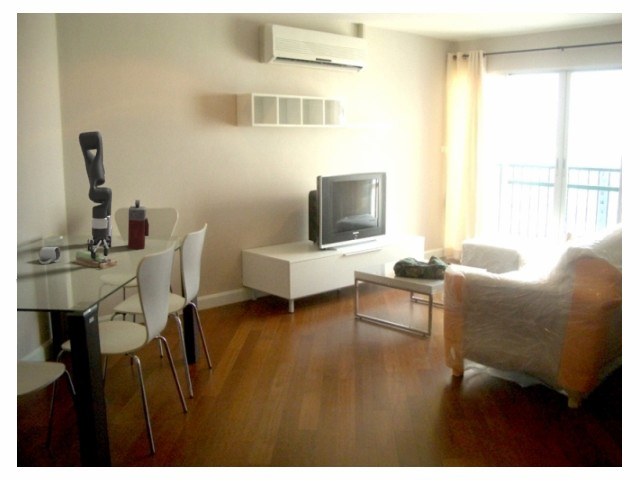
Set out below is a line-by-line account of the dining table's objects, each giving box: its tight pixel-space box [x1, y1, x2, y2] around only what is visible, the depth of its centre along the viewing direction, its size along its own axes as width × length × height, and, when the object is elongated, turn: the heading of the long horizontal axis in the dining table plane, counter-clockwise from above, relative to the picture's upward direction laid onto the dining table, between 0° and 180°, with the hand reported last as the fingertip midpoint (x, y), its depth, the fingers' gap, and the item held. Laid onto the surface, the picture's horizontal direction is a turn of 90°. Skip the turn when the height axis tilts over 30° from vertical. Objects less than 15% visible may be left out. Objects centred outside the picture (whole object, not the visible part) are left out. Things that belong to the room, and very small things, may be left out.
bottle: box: [75, 249, 109, 264], centre depth 310 cm, size 6×6×18 cm
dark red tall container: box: [127, 199, 150, 250], centre depth 348 cm, size 9×11×28 cm
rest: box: [75, 256, 118, 270], centre depth 310 cm, size 10×18×2 cm, turn 65°
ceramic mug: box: [38, 246, 61, 265], centre depth 306 cm, size 11×8×8 cm
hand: (99, 257), depth 309 cm, fingers open, 8 cm apart
